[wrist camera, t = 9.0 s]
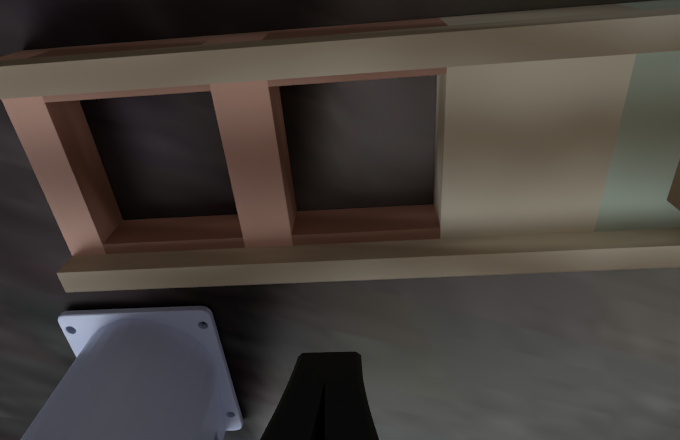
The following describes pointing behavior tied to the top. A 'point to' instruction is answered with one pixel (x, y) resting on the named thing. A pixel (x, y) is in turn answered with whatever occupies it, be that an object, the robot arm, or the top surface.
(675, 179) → the walnut block
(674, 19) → the trap lane
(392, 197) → the top surface
